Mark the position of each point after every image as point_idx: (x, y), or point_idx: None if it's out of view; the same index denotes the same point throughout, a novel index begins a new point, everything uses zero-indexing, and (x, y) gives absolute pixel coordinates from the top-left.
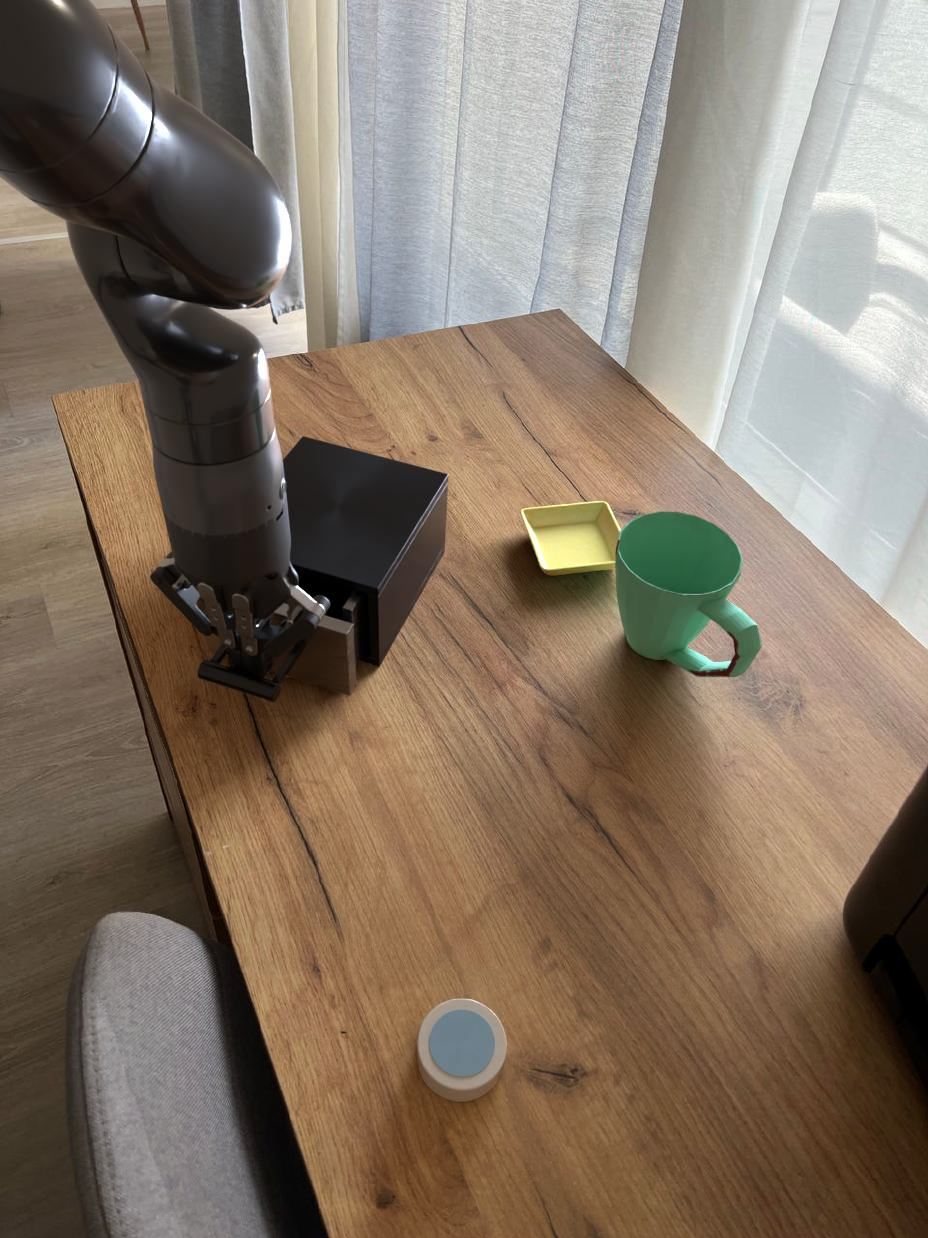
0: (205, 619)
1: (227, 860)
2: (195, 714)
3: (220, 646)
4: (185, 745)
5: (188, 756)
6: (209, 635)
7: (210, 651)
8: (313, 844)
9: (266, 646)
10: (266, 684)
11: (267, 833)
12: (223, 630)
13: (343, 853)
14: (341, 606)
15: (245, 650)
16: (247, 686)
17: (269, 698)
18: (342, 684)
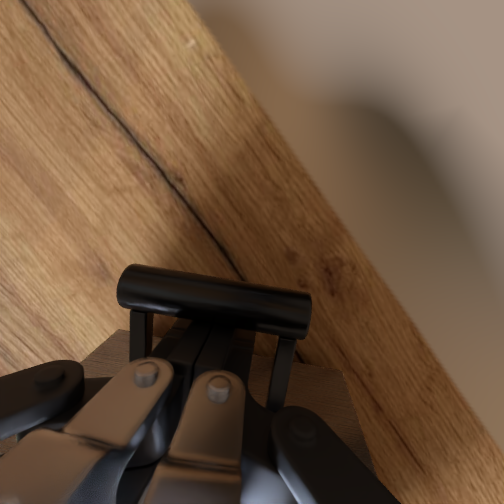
0: (296, 489)
1: (178, 18)
2: (323, 264)
3: (287, 377)
4: (317, 207)
5: (306, 189)
6: (282, 409)
7: (336, 370)
8: (78, 86)
9: (52, 394)
10: (137, 294)
11: (144, 85)
12: (211, 443)
13: (36, 84)
14: None
15: (156, 371)
16: (181, 283)
17: (133, 266)
18: (115, 342)
